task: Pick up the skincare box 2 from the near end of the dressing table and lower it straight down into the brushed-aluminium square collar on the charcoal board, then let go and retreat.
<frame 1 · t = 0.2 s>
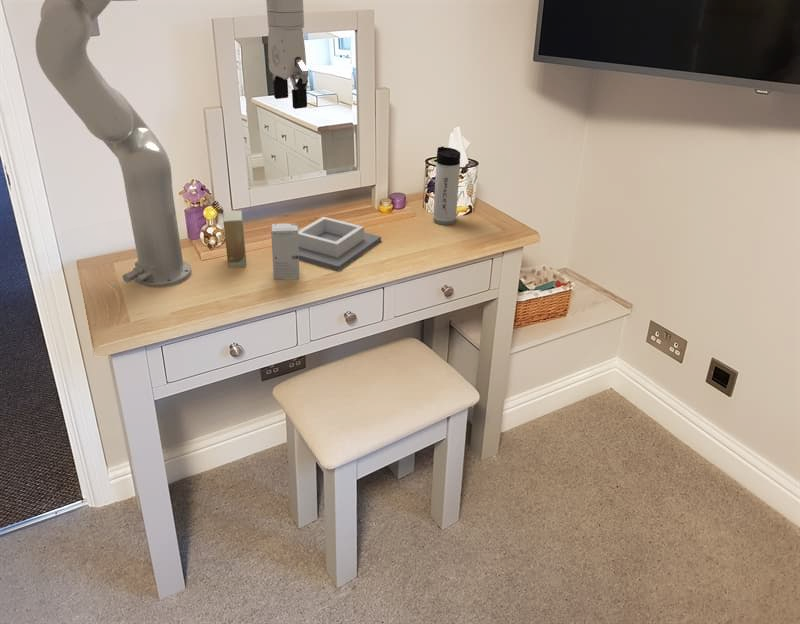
hand: (290, 102, 153), 36 cm above the table, tool pointing down, fingers open, 9 cm apart
duct collar: (330, 247, 174), on the table
skincare box 2: (287, 275, 161), on the table
skincare box: (237, 263, 166), on the table
travel mug: (443, 221, 191), on the table
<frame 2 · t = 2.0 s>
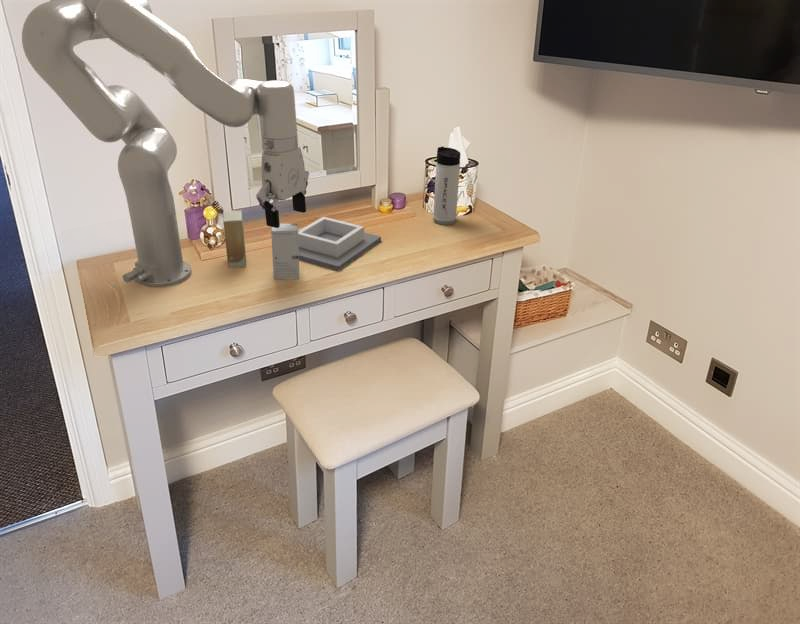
hand: (286, 218, 154), 14 cm above the table, tool pointing down, fingers open, 9 cm apart
nothing on the table moved.
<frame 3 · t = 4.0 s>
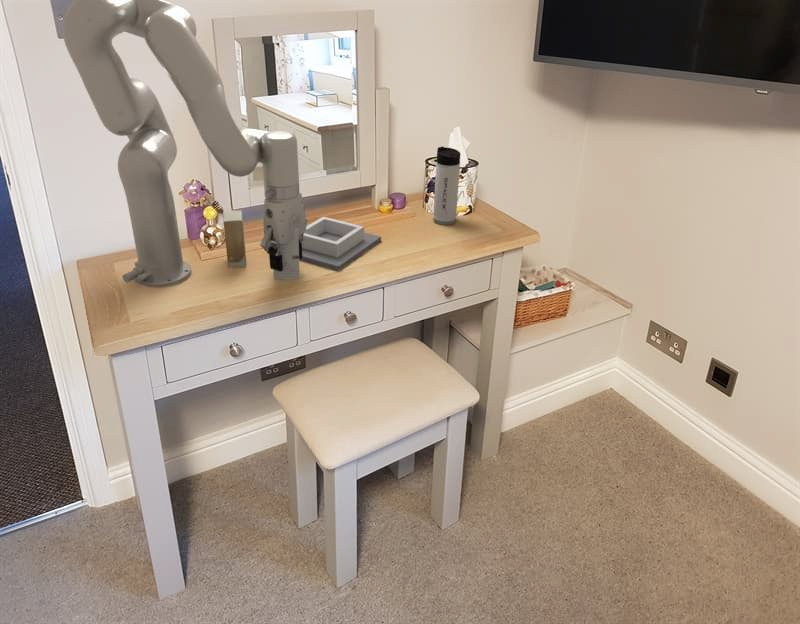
hand: (286, 262, 159), 3 cm above the table, tool pointing down, fingers closed on skincare box 2, 6 cm apart
skincare box 2: (287, 275, 161), on the table, touching gripper
everything else where it was.
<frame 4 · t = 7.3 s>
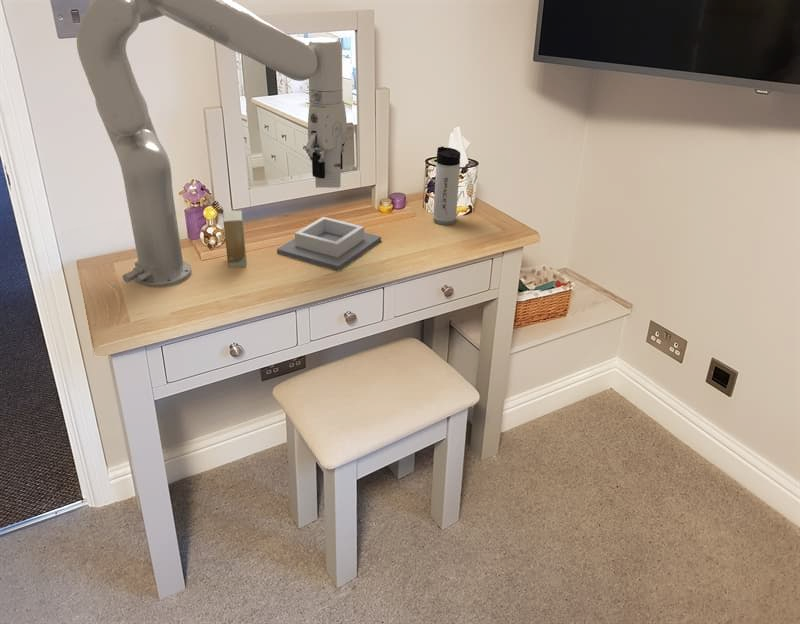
hand: (327, 172, 164), 20 cm above the table, tool pointing down, fingers closed on skincare box 2, 6 cm apart
skincare box 2: (328, 185, 166), point 16 cm above the table, touching gripper
everything else where it was.
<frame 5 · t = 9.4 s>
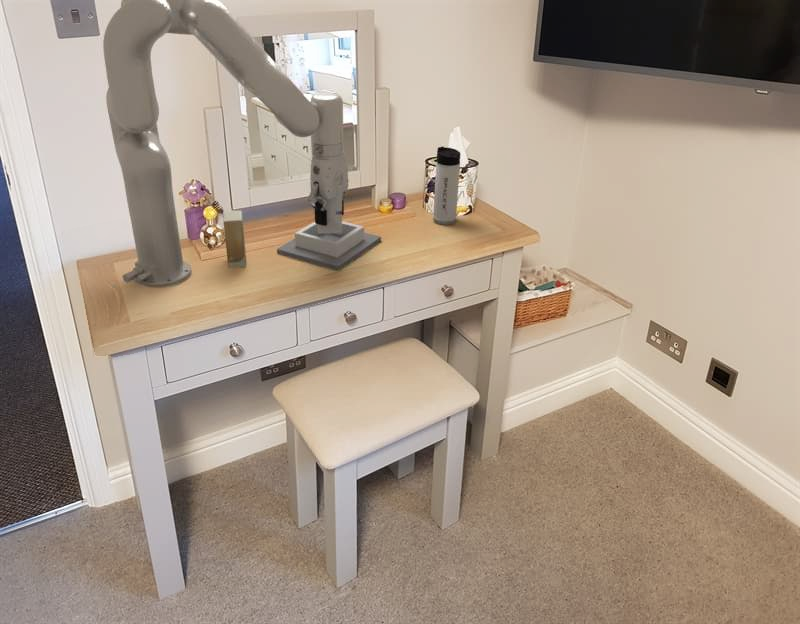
hand: (329, 218, 171), 8 cm above the table, tool pointing down, fingers closed on skincare box 2, 6 cm apart
skincare box 2: (330, 231, 172), point 4 cm above the table, touching gripper
everything else where it was.
when the fingers open (6 cm above the table, at t = 10.8 s): skincare box 2 drops 2 cm, resting on duct collar.
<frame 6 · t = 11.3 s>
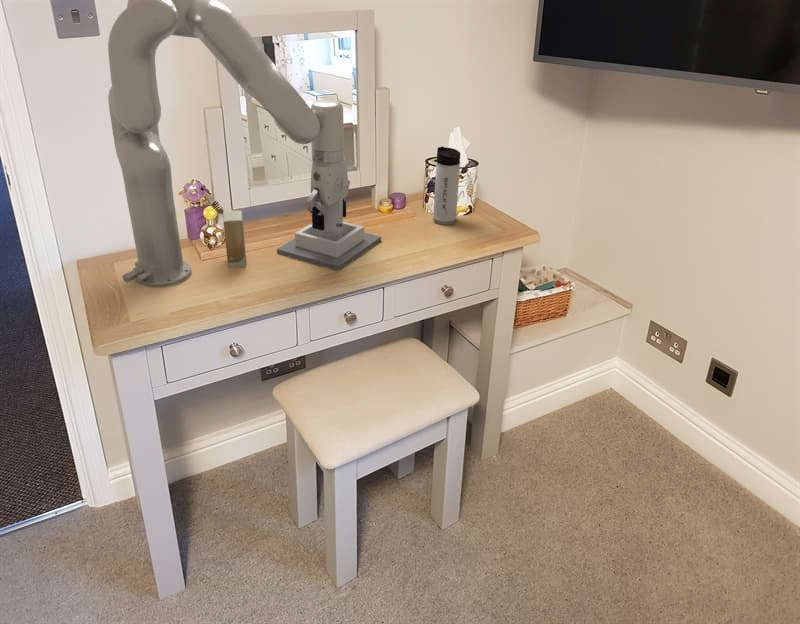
hand: (329, 222, 171), 7 cm above the table, tool pointing down, fingers open, 9 cm apart
skincare box 2: (331, 242, 174), point 1 cm above the table, touching duct collar
everything else where it was.
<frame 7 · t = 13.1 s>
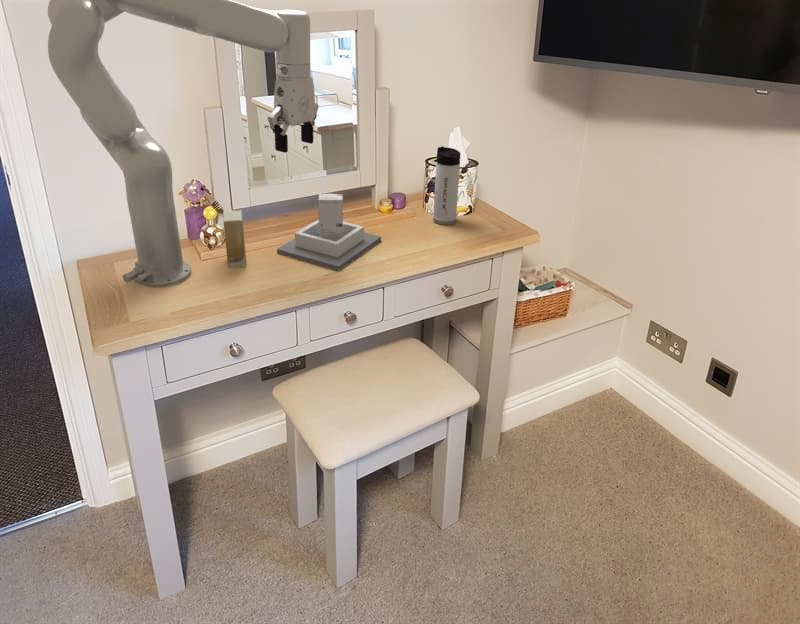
hand: (294, 146, 162), 25 cm above the table, tool pointing down, fingers open, 9 cm apart
nothing on the table moved.
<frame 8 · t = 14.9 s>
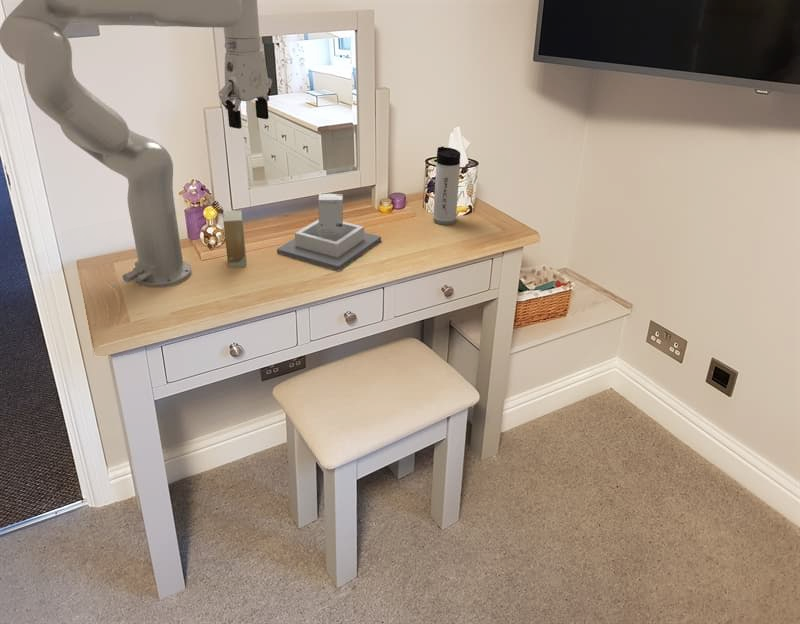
hand: (249, 122, 161), 30 cm above the table, tool pointing down, fingers open, 9 cm apart
nothing on the table moved.
at the end: skincare box 2 0.5 cm off-centre on the duct collar, point 1.0 cm above the duct collar's base; skincare box 2 tilted 0°; the gripper is holding nothing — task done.
